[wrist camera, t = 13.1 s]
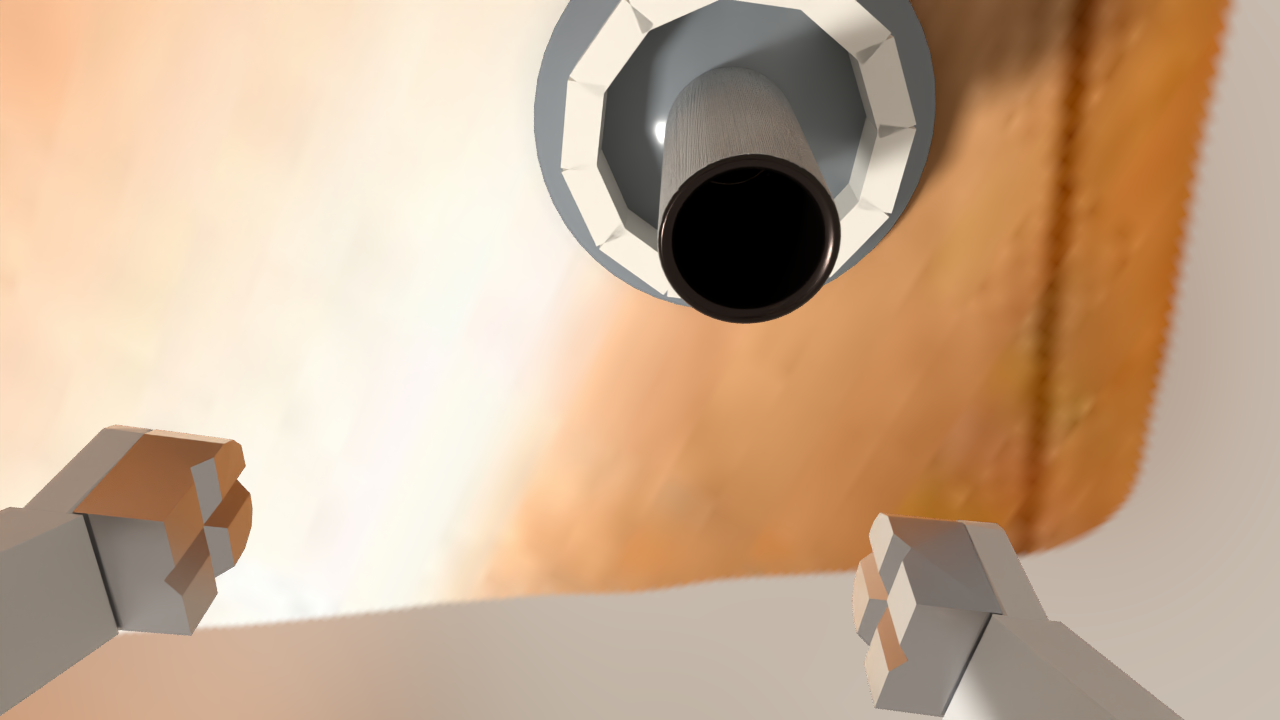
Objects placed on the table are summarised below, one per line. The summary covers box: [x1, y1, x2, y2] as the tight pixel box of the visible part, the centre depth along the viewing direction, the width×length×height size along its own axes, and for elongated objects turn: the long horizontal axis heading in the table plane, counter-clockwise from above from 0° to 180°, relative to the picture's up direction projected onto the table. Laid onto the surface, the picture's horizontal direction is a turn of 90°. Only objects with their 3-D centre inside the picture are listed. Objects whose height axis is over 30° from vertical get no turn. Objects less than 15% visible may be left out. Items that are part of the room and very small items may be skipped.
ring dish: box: [534, 0, 936, 307], centre depth 29 cm, size 14×14×3 cm
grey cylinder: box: [657, 67, 841, 324], centre depth 25 cm, size 4×4×10 cm
